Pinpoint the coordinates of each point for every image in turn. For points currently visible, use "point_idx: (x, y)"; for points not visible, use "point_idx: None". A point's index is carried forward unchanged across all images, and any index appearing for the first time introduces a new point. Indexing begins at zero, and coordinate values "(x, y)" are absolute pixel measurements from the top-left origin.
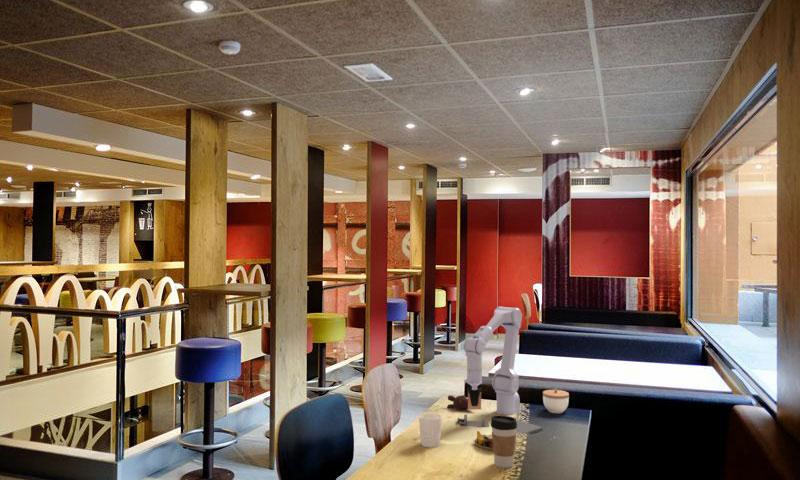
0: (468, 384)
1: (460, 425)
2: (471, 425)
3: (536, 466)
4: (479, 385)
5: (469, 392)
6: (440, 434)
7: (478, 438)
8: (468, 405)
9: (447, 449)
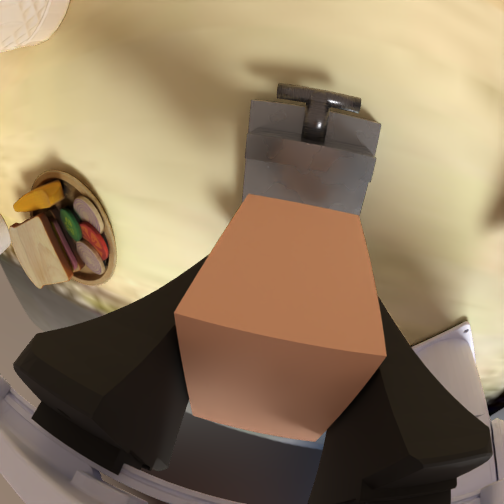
0: (428, 472)
1: (258, 103)
2: (260, 176)
3: (20, 282)
4: (314, 500)
5: (74, 333)
6: (7, 50)
7: (34, 191)
8: (236, 215)
9: (19, 80)
